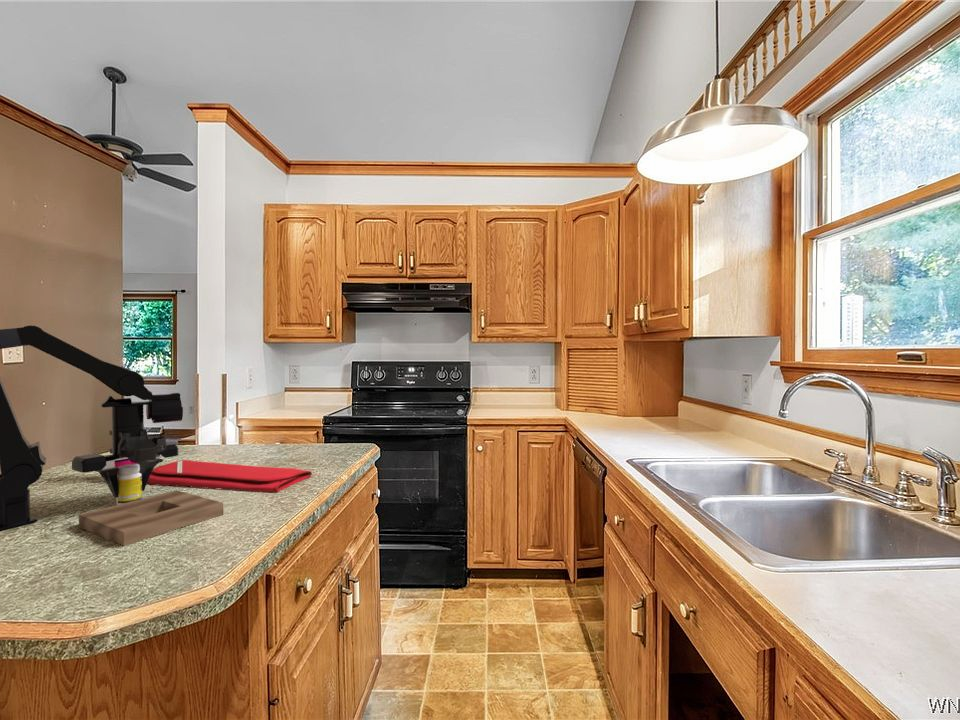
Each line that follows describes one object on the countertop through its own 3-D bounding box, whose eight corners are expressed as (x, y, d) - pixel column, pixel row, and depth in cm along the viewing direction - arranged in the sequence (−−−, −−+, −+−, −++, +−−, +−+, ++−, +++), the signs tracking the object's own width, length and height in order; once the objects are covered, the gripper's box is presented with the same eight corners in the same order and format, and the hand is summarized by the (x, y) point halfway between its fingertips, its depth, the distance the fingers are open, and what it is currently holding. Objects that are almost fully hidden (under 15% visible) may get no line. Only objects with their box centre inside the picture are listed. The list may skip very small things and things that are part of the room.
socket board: (79, 527, 90) (78, 514, 90) (176, 501, 106) (176, 490, 106) (123, 546, 81) (123, 532, 81) (223, 514, 97) (223, 502, 97)
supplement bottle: (146, 501, 105) (145, 465, 105) (121, 507, 101) (120, 469, 101) (136, 498, 108) (136, 462, 108) (112, 504, 104) (111, 466, 104)
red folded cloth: (275, 495, 112) (275, 479, 112) (136, 485, 120) (136, 471, 120) (312, 477, 127) (312, 464, 127) (186, 470, 136) (186, 457, 136)
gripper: (94, 435, 92) (95, 512, 93) (190, 422, 109) (191, 488, 109) (70, 430, 98) (71, 503, 98) (165, 419, 114) (166, 482, 114)
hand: (129, 494), depth 105 cm, fingers closed on supplement bottle, 5 cm apart
